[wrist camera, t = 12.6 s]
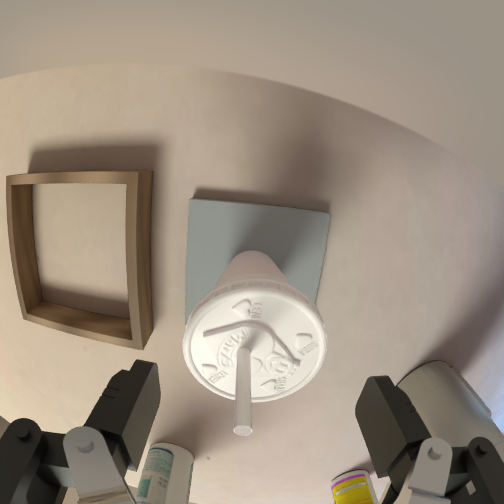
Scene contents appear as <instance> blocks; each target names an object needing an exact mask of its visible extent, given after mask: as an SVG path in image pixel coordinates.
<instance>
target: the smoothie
mask: <svg viewBox="0 0 504 504" xmlns="http://www.w3.org/2000/svg"><path fill="white" fill-rule="evenodd" d="M326 352H327V334H326V330H325V327H324V322H323V320H322V317H321V315H320V313H319V311H318V308H317V307H316V306H315V305H314V303H313V302H312V301H311V300H310V299H309V298H308V297H307V295H305V294H304V293H302V292H301V291H299V290H297V289H296V288H294V287H293V286H292V285H291V284H290V283H289V281H288V280H287V279H286V277H285V276H284V275H283V274H282V272H281V271H280V270H279V268H278V267H277V266H276V264H275V263H274V262H273V260H272V259H271V258H270V257H269V256H268V255H266V254H264V253H262V252H260V251H254V250H250V251H244V252H242V253H239V254H238V255H236V256H235V257H234V258H233V259H232V260H231V262H230V263H229V265H228V266H227V268H226V270H225V271H224V273H223V274H222V276H221V278H220V279H219V281H218V282H217V284H216V286H215V287H214V289H213V290H212V291H211V292H209V293H208V294H207V295H206V296H205V297H203V298H202V299H201V300H200V301H199V302H198V303H197V305H196V306H195V308H194V309H193V311H192V312H191V314H190V315H189V318H188V322H187V325H186V329H185V333H184V337H183V353H184V357H185V361H186V363H187V366H188V368H189V369H190V371H191V372H192V374H193V375H194V376H195V378H196V379H197V380H198V381H199V382H200V383H201V384H202V385H204V386H205V387H206V388H208V389H209V390H211V391H212V392H214V393H216V394H218V395H220V396H223V397H225V398H229V399H232V400H235V412H234V432H235V433H236V434H238V435H249V434H250V433H251V432H252V402H265V401H271V400H276V399H279V398H282V397H285V396H288V395H290V394H292V393H294V392H295V391H297V390H299V389H300V388H302V387H303V386H305V385H306V384H307V383H308V382H309V381H310V380H311V379H312V378H313V377H314V376H315V375H316V374H317V372H318V371H319V369H320V368H321V366H322V364H323V362H324V359H325V356H326Z"/></svg>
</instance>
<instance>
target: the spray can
mask: <svg viewBox="0 0 504 504" xmlns="http://www.w3.org/2000/svg"><path fill="white" fill-rule="evenodd" d="M193 464H194V457H193V455H192V454H191V453H190V452H189V451H188V450H186V449H184V448H182V447H180V446H177V445H174V444H170V443H155V444H153V445H151V447H150V449H149V451H148V455H147V458H146V461H145V465H144V468H143V472H142V475H141V479H140V482H139V486H138V490H137V493H136V496H135V500H136V502H137V504H188V501H189V494H190V486H191V478H192V471H193Z"/></svg>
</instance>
